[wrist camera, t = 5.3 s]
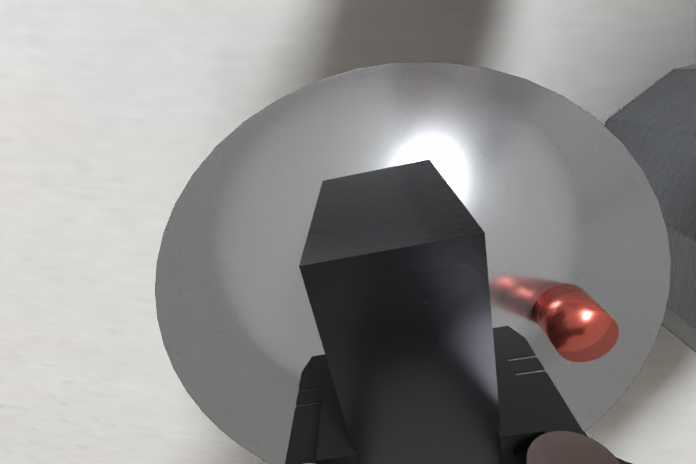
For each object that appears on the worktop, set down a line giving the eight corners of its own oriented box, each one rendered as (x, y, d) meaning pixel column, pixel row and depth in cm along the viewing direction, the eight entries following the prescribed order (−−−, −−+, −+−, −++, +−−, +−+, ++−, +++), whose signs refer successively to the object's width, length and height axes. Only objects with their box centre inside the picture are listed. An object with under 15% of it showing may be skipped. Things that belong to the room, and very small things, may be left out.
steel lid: (121, 121, 11) (-166, 195, 5) (623, 6, 10) (1073, -88, 4) (262, 449, 16) (205, 681, 10) (600, 403, 15) (769, 639, 9)
